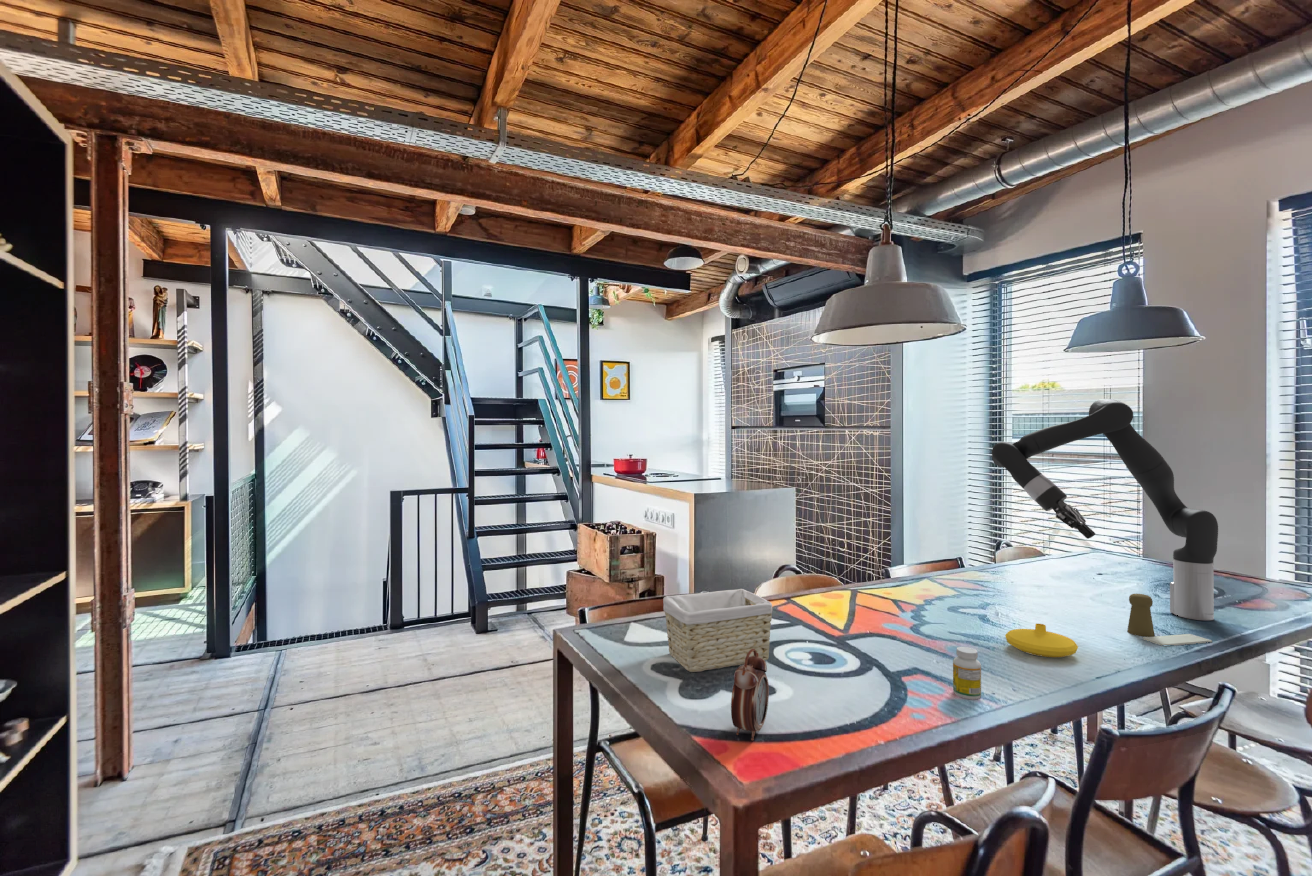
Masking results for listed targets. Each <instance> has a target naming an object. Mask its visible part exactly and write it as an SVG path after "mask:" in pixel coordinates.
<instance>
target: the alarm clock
mask: <svg viewBox="0 0 1312 876" xmlns="http://www.w3.org/2000/svg"><path fill="white" fill-rule="evenodd" d="M752 652H754V656H750V654H751V653H752ZM758 655H759V654H758V653H756V650H755V649H751V650H750V651H749V652H748V654H747V656H746V658H745V663H744V664H742V665H739V666H738V667H737V668H736V669H735V671H734V674H733V681H734V682H733V686H732V691H731V692H732V693H731V700H730V701H731V703H730V714H731V721H732V724H733V726H734V727H735V728H737V729H736V735H737V736H738V735H740V734H739V732H740V730H743V731H746V732H747V731H748V732H751V738H750V740H751V742H752V741H754V740H755V739H754V737H755V734H756V732H760V731H761V730H762V728H763V726H764V724H765V722H766V718H767V712H768V707H769V696H770V693H769V692H770V690H769V689H770V687H769V686H770V685H769V680H768V677H767V674H766V673H767V671H768V668H767V662H766V660H763V659H762V658H760V657H758ZM749 656H750V657H749Z"/></svg>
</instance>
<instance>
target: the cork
mask: <svg viewBox="0 0 1312 876" xmlns="http://www.w3.org/2000/svg"><path fill="white" fill-rule="evenodd" d="M1128 602H1129V604H1130V605H1131V606H1130V613H1129V618H1128V625H1127V633H1128V634H1131V635H1134V636H1138V637H1142V638H1143V637H1156V636H1155V628H1154V624H1153V617H1152V612H1151V607H1153V603H1154V602H1153V599H1152V597H1151V596H1150V595H1147V594H1144V593H1132V594H1130V595H1129V597H1128Z"/></svg>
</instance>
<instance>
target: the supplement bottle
mask: <svg viewBox="0 0 1312 876" xmlns="http://www.w3.org/2000/svg"><path fill="white" fill-rule="evenodd" d="M978 657H979V655H978V650H977V649H975V648H973V647H967V646H957V647H956V656H955V657H954V658H953V660H952V691H953V692H952V693H954V695H956V696H957V697H959V698H962V699H964V700H971V701H972V700H973V701H974V700H975V701H976V700H979V699H980V698H981V697H982V664H981V662H980V660H978Z"/></svg>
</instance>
